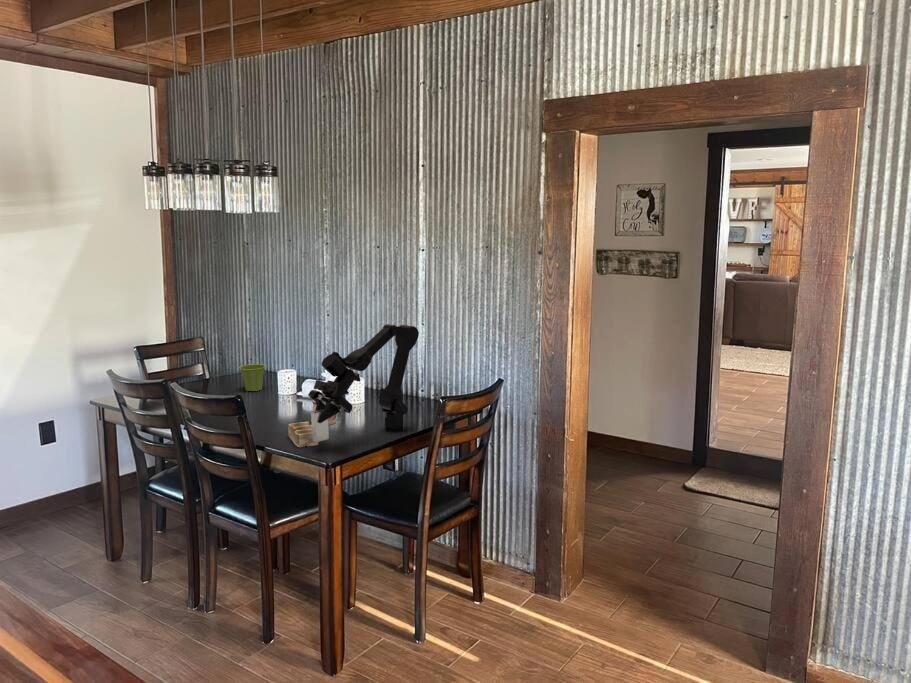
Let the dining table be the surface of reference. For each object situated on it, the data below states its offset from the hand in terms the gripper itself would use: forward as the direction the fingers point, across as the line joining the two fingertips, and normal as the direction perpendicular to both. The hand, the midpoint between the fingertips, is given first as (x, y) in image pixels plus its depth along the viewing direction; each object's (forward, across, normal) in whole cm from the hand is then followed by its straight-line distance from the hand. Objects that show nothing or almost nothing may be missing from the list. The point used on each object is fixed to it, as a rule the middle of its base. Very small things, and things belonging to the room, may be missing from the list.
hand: (316, 421), depth 244 cm
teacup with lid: (-9, -26, +24) cm, 37 cm away
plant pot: (-15, -95, +30) cm, 101 cm away
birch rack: (+5, -13, +9) cm, 17 cm away
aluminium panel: (+4, 0, +6) cm, 7 cm away
